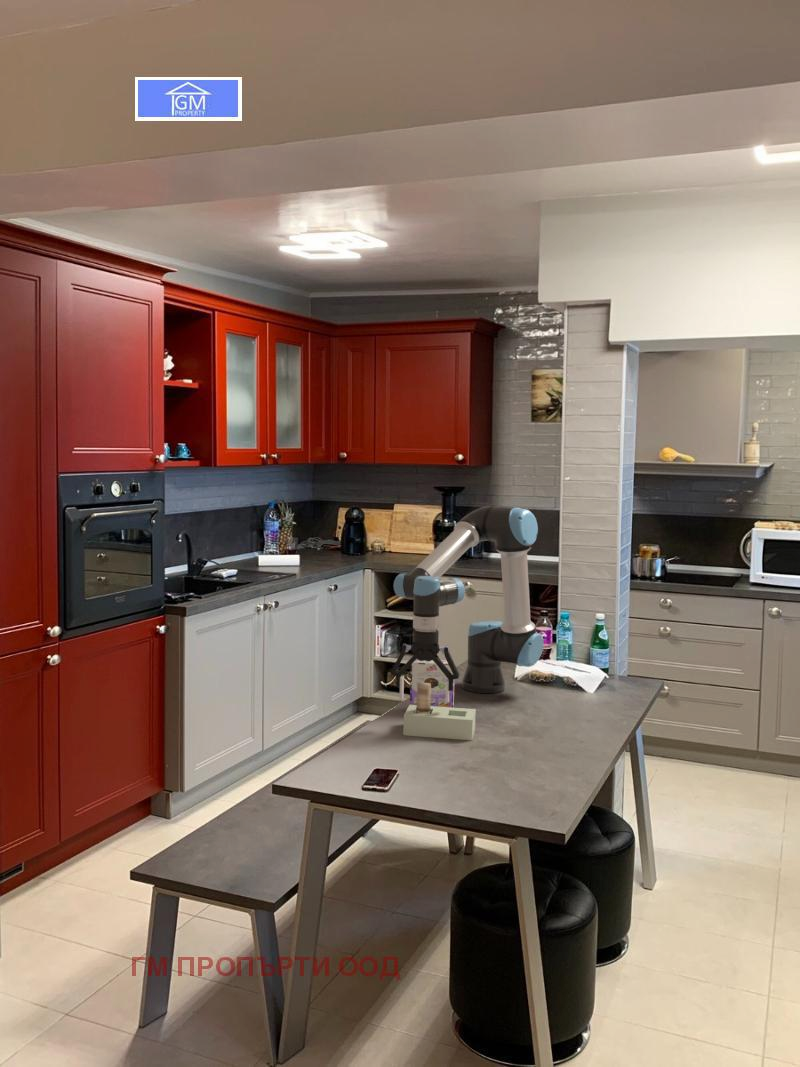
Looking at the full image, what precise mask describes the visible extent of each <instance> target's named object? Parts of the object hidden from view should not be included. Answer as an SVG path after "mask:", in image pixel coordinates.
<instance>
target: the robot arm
mask: <svg viewBox="0 0 800 1067" xmlns="http://www.w3.org/2000/svg"><path fill="white" fill-rule="evenodd" d="M538 531H539V527H538V522H537V518H536V517H535V515H534V513H532V512H531V511H530V510H529V509H527V508H526V509H525V508H520V507H512V506H511V507H509V506H494V505H486V506H482V507H480V508H477V509H475V510H473V511H470V512H469V513H467V514H466V515H465V516H464V517H462V518H461V519H460V520H459V521H458V522H456V523H455V525H454V527H453V530H452V532H450V534H449V535H448V536H447V537H446V538H444V539H443V540H442V541H441V543H440V544H438V545H437V546H436V547H435V548H434V550H432V551H431V552H430V553H429V554H428V555H427V556H426V557H425V558H424V559H423V560H421V562H420V563H419V564H418V565H417V566H416V567H415V568H414V569H413V570H411V572H410V573H407V572H405V573H399V574H397V576H396V577H395V579H394V580H393V591H394V594H395V595H396V596H397V597H400V598H403V599H407V600H412V601H413V612H412V613H413V617H412V620H413V621H412V627H413V630H412V644H407V643H406V642H405V643H403V644H402V645H401V650H400V654H399V656H398V657H397V659H396V661H395V663H394V665H393V666H392V668H391V671H390V672H389V673H390V675H392V676H395V678H396V680H395V681H396V688H398V689H399V700H400V701H402V700H403V699H404V695H405V694H404V690H405V687H404V686H405V685H404V684H405V676H404V675H403V674H404V673H405V672H406V671H407V670H408V669H409V668H410V667H411V664H412V663H413V662H414V661H415V660H416V659H418V660H419V661H424V660H425V661H431V660H433V661H434V663H436V664H437V666H438V667H439V668H440V669H441V671H442V672H443V673H444V674H445V676H446V677H447V680H446V698H445V703H448V701H449V691H452V689H453V680H454V681H455V680H457V679H459V678H460V673H459V670H458V668H457V665H456V664H455V661H454V662H453V660H454V659H453V657H452V655H451V654H450V646H449V645H445V646H440V645H439V635H440V634H439V633H440V632H439V630H438V629H439V627H440V624H439V623H440V607H444V606H445V607H446V606H448V605H455V604H456V603H459V602H461V601H462V600H464V597H465V595H466V587H465V585H464V584H465V583H464V582H462V580H460V579H459V578H456V577H455V578H453V577H451V578H450V577H449V578H447V579H446V578H445V579H444V578H442V576H443V575H444V574H445V573H446V572H448V570H449V569H450V568H451V567H452V566H453V565H454V564H455V563H456V562H457V561H458V560H459V559H460V558H461V557H462V555H464V554H465V553H466V552H467V551H468V550H469V549H470V548H474V547H476V546H477V545H478V544H479V543H482V542H485V541H486V542H487V541H488V542H494V543H495V544H494V545H495V550H496V551H497V552H498V553H499V554H500V562H501V577H502V578H501V581H502V596H503V597H502V598H503V610H504V612H503V613H504V622H502V621H497V620H487V621H486V620H485V621H479V622H478V621H477V622H473V623H471V624H470V625H469V627H468V633H467V637H468V638H467V664H466V667H465V668H466V669H465V670H464V674H463V676H462V680H461V688H462V689H463V690H465V691H467V692H473V693H478V694H495V693H496V694H497V693H501V692H504V691H505V690H506V679H505V676H504V673H503V669H502V663H505V664H510V665H514V666H518V667H527V668H531V667H533V666H535V665H536V664H537V662H538V661H539V660H540V658H541V655H542V653H543V650H544V645H545V644H544V638H543V636H542V634H540V633H539V632H537V630H536V624H535V623H534V622H533V621H532V620H531V605H530V604H531V603H530V602H531V601H530V585H529V584H530V583H529V565H528V564H529V563H528V552H529V551H530V550H531V549H532V545H533V544H534V543H535V542H536V540H537V536H538V533H539V532H538ZM409 651H411V652H412V654H413V655H412V656H411V657H410V658H409V659H408V661H407V662H406V663H405V664H404V665H403V666H402V667H401V668H400V669H399V670H398V668H399V666H400V665H401V662H402V660H403V659H404V657H405V654H407V653H408V652H409ZM439 652H440V653H441V654H442V655H444V657H445V660H447V662H448V664H449V666H450V669H451V671H452V673H453V675H452V674H451V672H450V671H449V670H448V669H447V667H446V666H445V665H444V664H443V662H442V661H441V660H442V659H441V658H440V657H439V655H438V654H439Z"/></svg>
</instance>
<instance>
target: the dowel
mask: <svg viewBox="0 0 800 1067" xmlns="http://www.w3.org/2000/svg"><path fill="white" fill-rule="evenodd" d="M430 701H431V684H429V683H418V684H417V709H416V710H417V713H422V714H430Z"/></svg>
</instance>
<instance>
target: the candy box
mask: <svg viewBox="0 0 800 1067" xmlns="http://www.w3.org/2000/svg"><path fill="white" fill-rule="evenodd" d="M440 660H441V661H442V662H443V664H444V665H445V666H446V667H447V669H448V670H449V671H450V672H451V674H452V675H453V673H452V671H451V669H450V666H449V664H448V662H447V660H446V659H440ZM453 662H454V663H455V660H454V659H453ZM409 677H410V678H409V679H410V681H409V682H410V685H409V686H410V688H409V691H410V692H409V705H417V684H418V683H429V684H431V701H430V706H437V707H451V708H455V707H454V703H455V702H454V701H455V679H454V680H453V689H452V691H449V701H448V703H445V698H446V680H447V677H446V676H445V674H444V673H443V672H442V671H441V669H440V668H439V667H438V666H437V664H436V663H434V661H433V660H431V661H425V660H424V661H419V660H418V659H416V660H415V661H414V662H413V663H412V664H411V665H410V676H409Z"/></svg>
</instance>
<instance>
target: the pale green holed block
mask: <svg viewBox="0 0 800 1067" xmlns="http://www.w3.org/2000/svg"><path fill="white" fill-rule="evenodd" d="M416 709H417V705H410V704H409V705H408V707H407V709H406V710H405V712H404V714H403V731H402V732H403V733H402V734H403V736H408V737H410V736H411V737H423V738H433V739H434V738H437V739H446V740H447V739H450V740H461V741H473V738H474V735H475V734H474V733H475V730H476V716H477V715H476V714H477V712H476V711H477V709H476V708H465V707H464V708H463V707H461V708H460V707H454V708H451V707H437V706H430V714H422V713H417V710H416Z"/></svg>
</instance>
